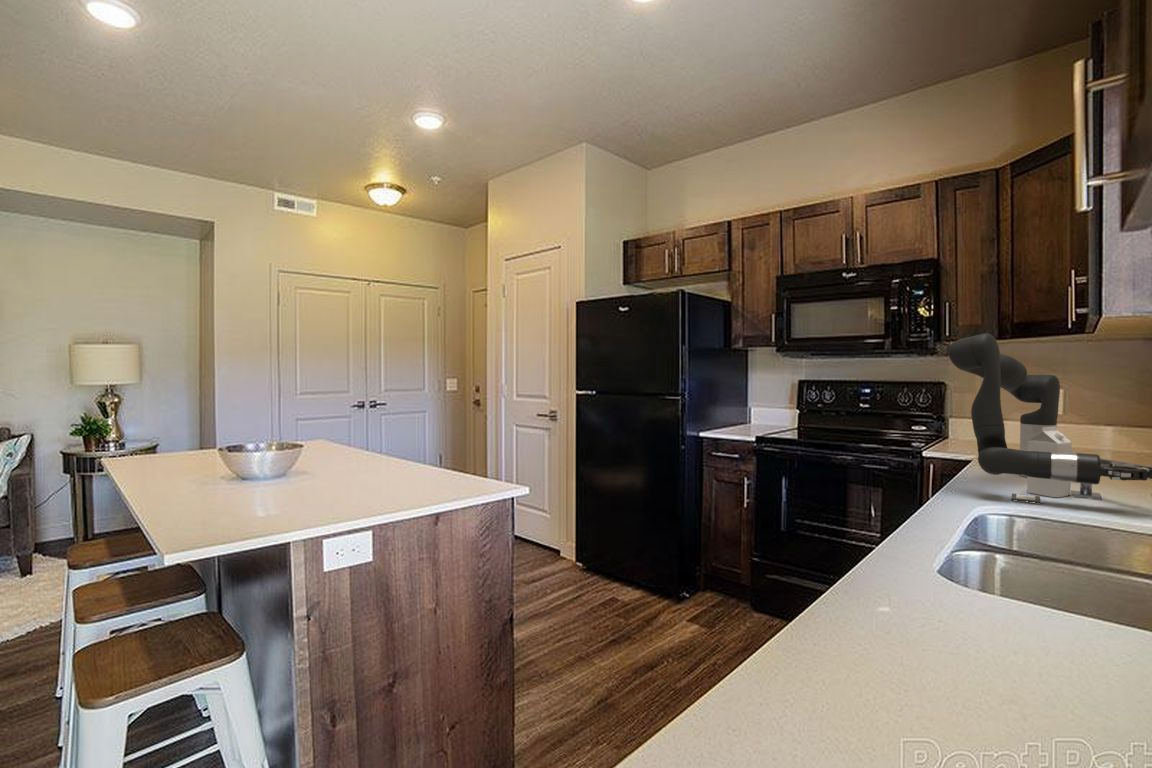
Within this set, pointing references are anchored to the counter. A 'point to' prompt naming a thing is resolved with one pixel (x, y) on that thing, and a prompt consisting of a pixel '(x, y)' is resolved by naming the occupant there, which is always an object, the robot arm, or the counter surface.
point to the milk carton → (1049, 443)
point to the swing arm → (1105, 461)
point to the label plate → (1026, 498)
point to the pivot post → (1086, 492)
